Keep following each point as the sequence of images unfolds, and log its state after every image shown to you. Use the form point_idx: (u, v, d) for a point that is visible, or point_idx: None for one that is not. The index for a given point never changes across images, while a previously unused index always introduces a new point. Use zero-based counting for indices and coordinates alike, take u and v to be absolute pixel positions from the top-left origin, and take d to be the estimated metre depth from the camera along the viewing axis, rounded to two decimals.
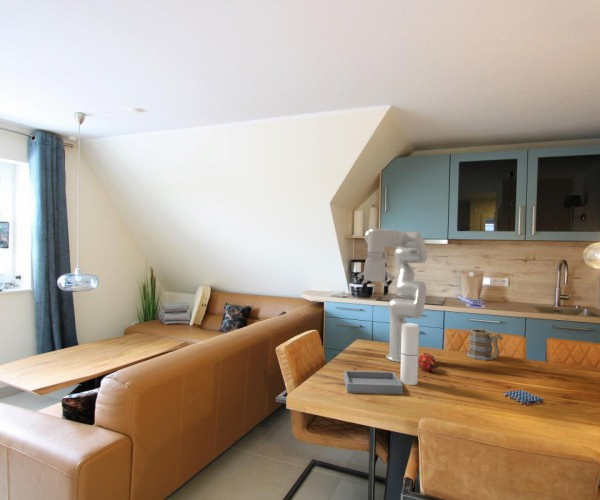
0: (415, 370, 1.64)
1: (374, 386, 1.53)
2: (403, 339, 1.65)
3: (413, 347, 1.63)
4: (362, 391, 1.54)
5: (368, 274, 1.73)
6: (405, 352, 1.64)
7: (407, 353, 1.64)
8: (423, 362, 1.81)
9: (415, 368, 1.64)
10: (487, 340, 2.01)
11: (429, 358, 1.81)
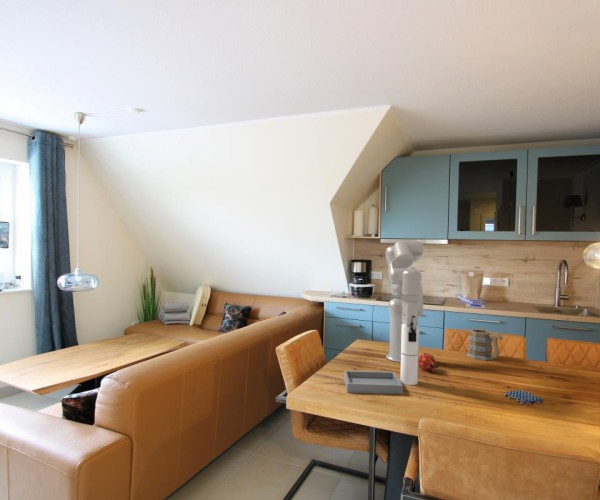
0: (415, 370, 1.64)
1: (374, 386, 1.53)
2: (403, 339, 1.65)
3: (413, 347, 1.63)
4: (362, 391, 1.54)
5: None
6: (405, 352, 1.64)
7: (407, 353, 1.64)
8: (423, 362, 1.81)
9: (415, 368, 1.64)
10: (487, 340, 2.01)
11: (429, 358, 1.81)
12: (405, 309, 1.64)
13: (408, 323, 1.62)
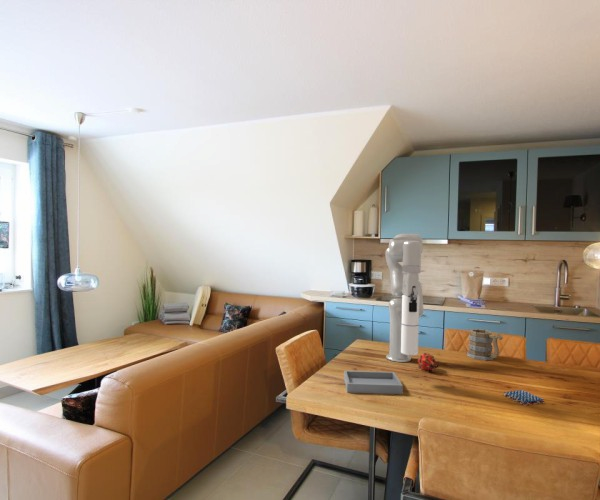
0: (415, 340, 1.64)
1: (374, 386, 1.53)
2: (404, 310, 1.65)
3: (414, 318, 1.63)
4: (362, 391, 1.54)
5: None
6: (406, 323, 1.64)
7: (408, 323, 1.64)
8: (423, 362, 1.81)
9: (415, 338, 1.64)
10: (487, 340, 2.01)
11: (429, 358, 1.81)
12: (406, 280, 1.64)
13: (409, 293, 1.62)
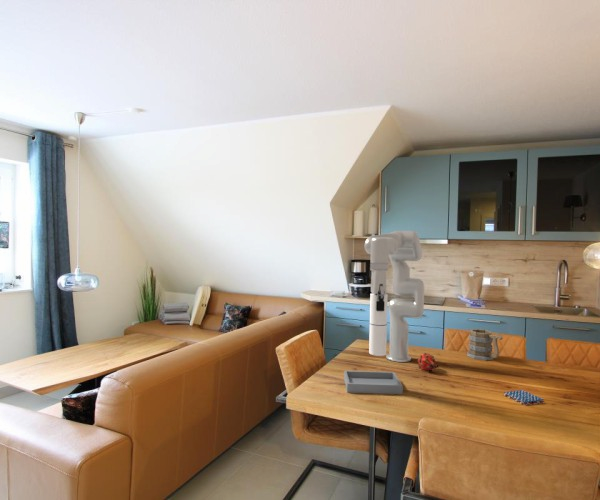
0: (383, 340, 1.58)
1: (374, 386, 1.53)
2: (371, 309, 1.59)
3: (381, 317, 1.58)
4: (362, 391, 1.54)
5: None
6: (373, 322, 1.59)
7: (375, 323, 1.58)
8: (423, 362, 1.81)
9: (383, 338, 1.58)
10: (487, 340, 2.01)
11: (429, 358, 1.81)
12: (373, 277, 1.59)
13: (376, 291, 1.56)
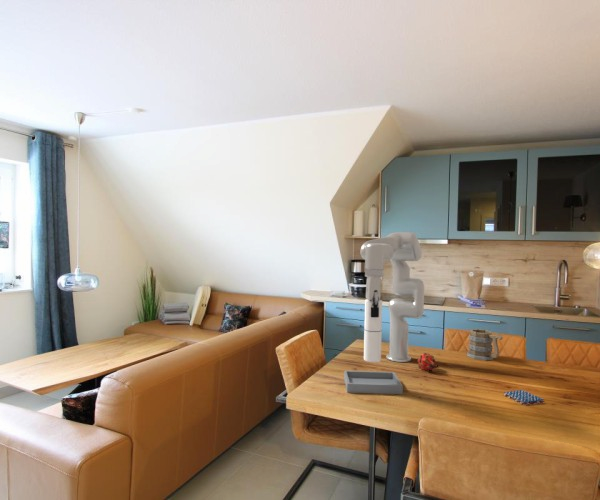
0: (378, 347, 1.58)
1: (374, 386, 1.53)
2: (366, 315, 1.59)
3: (376, 323, 1.57)
4: (362, 391, 1.54)
5: None
6: (368, 328, 1.59)
7: (370, 329, 1.58)
8: (423, 362, 1.81)
9: (377, 344, 1.58)
10: (487, 340, 2.01)
11: (429, 358, 1.81)
12: (368, 284, 1.59)
13: (370, 298, 1.56)
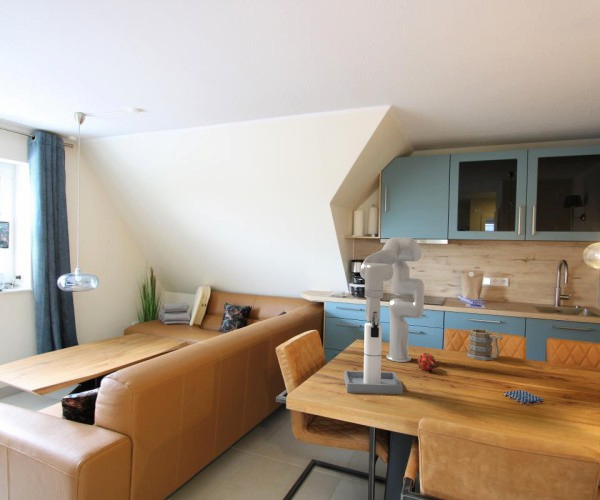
0: (378, 371, 1.59)
1: (374, 386, 1.53)
2: (366, 339, 1.60)
3: (375, 347, 1.58)
4: (362, 391, 1.54)
5: None
6: (367, 352, 1.59)
7: (369, 353, 1.59)
8: (423, 362, 1.81)
9: (377, 368, 1.59)
10: (487, 340, 2.01)
11: (429, 358, 1.81)
12: (367, 305, 1.59)
13: (370, 319, 1.56)
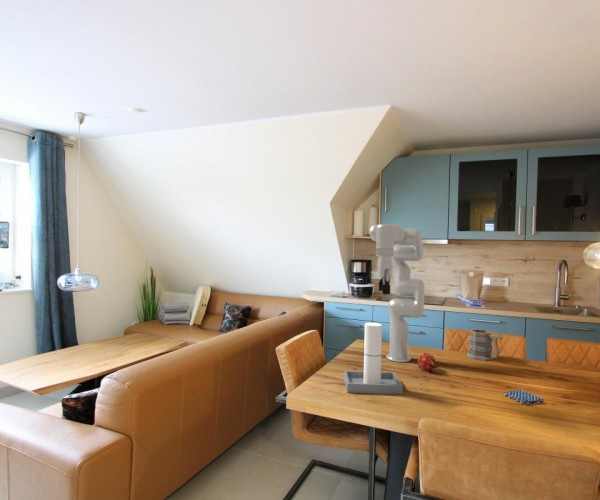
0: (378, 371, 1.59)
1: (374, 386, 1.53)
2: (366, 339, 1.60)
3: (375, 347, 1.58)
4: (362, 391, 1.54)
5: None
6: (367, 352, 1.59)
7: (369, 353, 1.59)
8: (423, 362, 1.81)
9: (377, 368, 1.59)
10: (487, 340, 2.01)
11: (429, 358, 1.81)
12: (379, 263, 1.63)
13: (381, 276, 1.61)
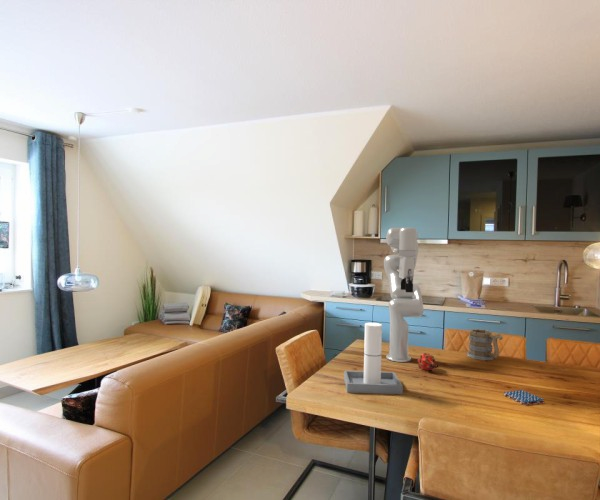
0: (378, 371, 1.59)
1: (374, 386, 1.53)
2: (366, 339, 1.60)
3: (375, 347, 1.58)
4: (362, 391, 1.54)
5: None
6: (367, 352, 1.59)
7: (369, 353, 1.59)
8: (423, 362, 1.81)
9: (377, 368, 1.59)
10: (487, 340, 2.01)
11: (429, 358, 1.81)
12: (402, 263, 1.76)
13: (405, 276, 1.73)
